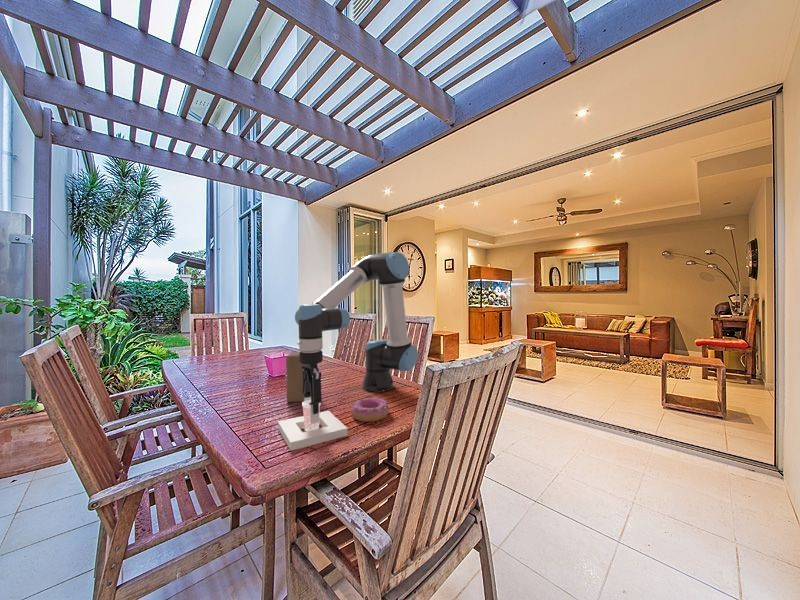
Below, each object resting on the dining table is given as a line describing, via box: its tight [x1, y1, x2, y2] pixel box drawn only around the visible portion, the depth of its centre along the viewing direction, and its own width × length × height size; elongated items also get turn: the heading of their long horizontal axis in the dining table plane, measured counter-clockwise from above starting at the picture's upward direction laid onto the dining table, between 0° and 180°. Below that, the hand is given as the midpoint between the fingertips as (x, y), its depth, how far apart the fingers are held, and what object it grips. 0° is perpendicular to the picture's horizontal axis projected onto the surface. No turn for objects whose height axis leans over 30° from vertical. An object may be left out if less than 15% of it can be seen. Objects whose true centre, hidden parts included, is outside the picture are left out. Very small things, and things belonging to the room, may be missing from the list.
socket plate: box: [277, 410, 348, 451], centre depth 105 cm, size 18×18×2 cm
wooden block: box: [285, 351, 311, 403], centre depth 138 cm, size 10×10×20 cm
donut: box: [351, 397, 390, 423], centre depth 119 cm, size 14×14×5 cm
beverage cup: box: [301, 400, 322, 432], centre depth 105 cm, size 6×6×14 cm
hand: (311, 419), depth 105 cm, fingers closed on beverage cup, 6 cm apart
